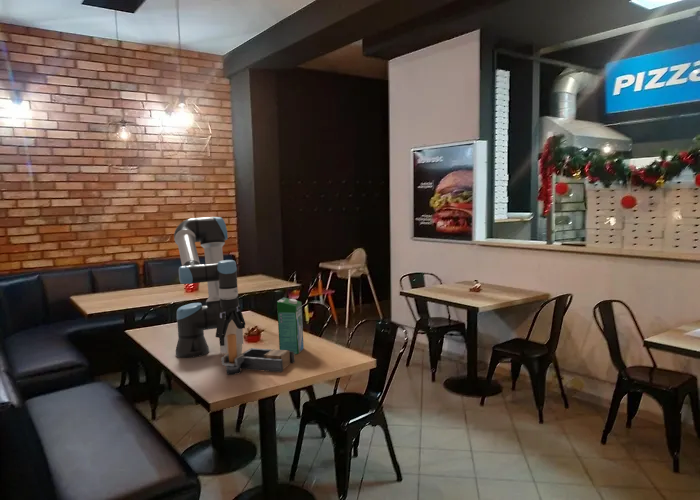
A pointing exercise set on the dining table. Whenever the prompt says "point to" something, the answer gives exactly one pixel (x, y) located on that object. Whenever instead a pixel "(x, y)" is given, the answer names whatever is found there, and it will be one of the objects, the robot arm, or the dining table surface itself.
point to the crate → (279, 356)
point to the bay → (263, 360)
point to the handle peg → (232, 347)
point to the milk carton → (290, 325)
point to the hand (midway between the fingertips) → (232, 348)
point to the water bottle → (232, 330)
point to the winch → (233, 364)
